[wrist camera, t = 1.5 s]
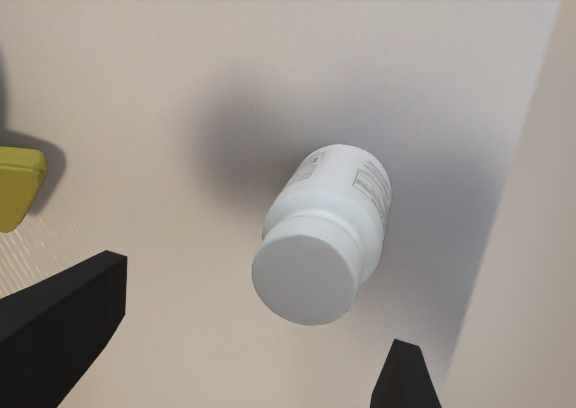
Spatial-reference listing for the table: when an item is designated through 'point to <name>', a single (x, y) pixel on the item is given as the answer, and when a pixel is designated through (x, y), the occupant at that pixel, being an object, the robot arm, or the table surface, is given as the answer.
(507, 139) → the table surface
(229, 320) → the table surface
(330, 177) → the pill bottle
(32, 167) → the alarm clock
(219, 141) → the table surface
